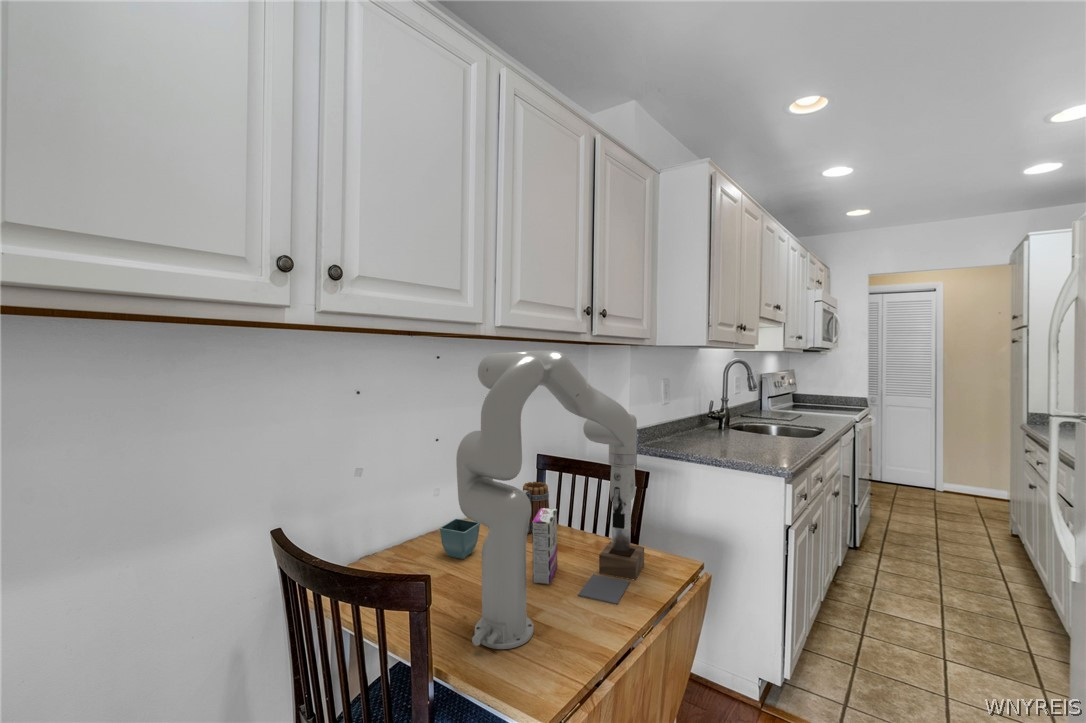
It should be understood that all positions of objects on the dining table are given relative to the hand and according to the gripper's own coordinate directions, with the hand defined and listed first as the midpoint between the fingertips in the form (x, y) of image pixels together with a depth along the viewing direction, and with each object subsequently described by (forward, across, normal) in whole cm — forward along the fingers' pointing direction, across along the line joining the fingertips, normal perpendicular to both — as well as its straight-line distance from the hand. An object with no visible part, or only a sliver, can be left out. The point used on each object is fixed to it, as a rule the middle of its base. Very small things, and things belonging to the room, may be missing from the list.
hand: (621, 523), depth 133 cm
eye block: (+13, +1, 0) cm, 13 cm away
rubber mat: (+13, -12, +1) cm, 18 cm away
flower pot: (+13, -10, +46) cm, 49 cm away
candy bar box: (+13, -11, +18) cm, 25 cm away
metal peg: (+7, 0, 0) cm, 7 cm away
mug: (+13, +16, +35) cm, 40 cm away
